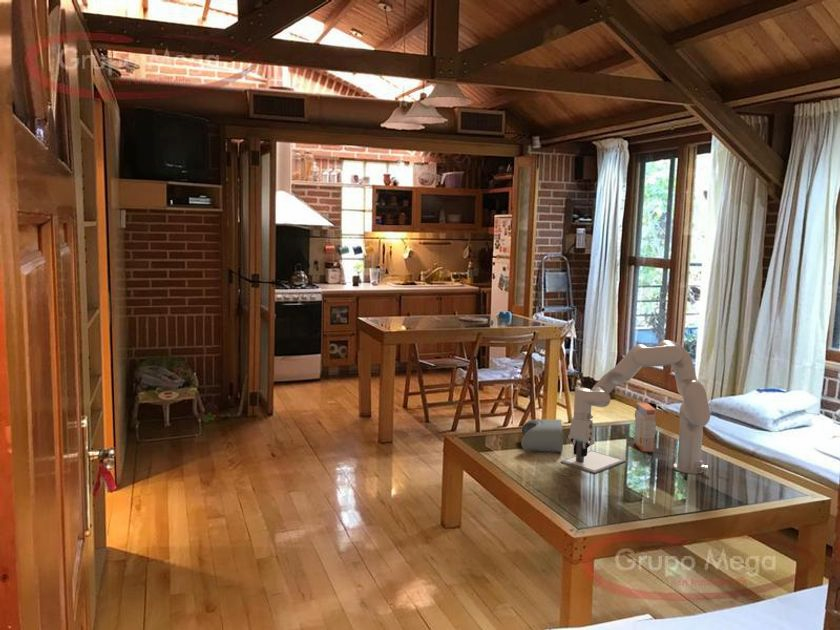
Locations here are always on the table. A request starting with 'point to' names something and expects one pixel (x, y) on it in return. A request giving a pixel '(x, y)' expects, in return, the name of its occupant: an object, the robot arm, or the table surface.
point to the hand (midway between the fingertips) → (580, 454)
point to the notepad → (594, 462)
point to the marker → (579, 451)
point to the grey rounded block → (542, 435)
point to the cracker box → (645, 427)
